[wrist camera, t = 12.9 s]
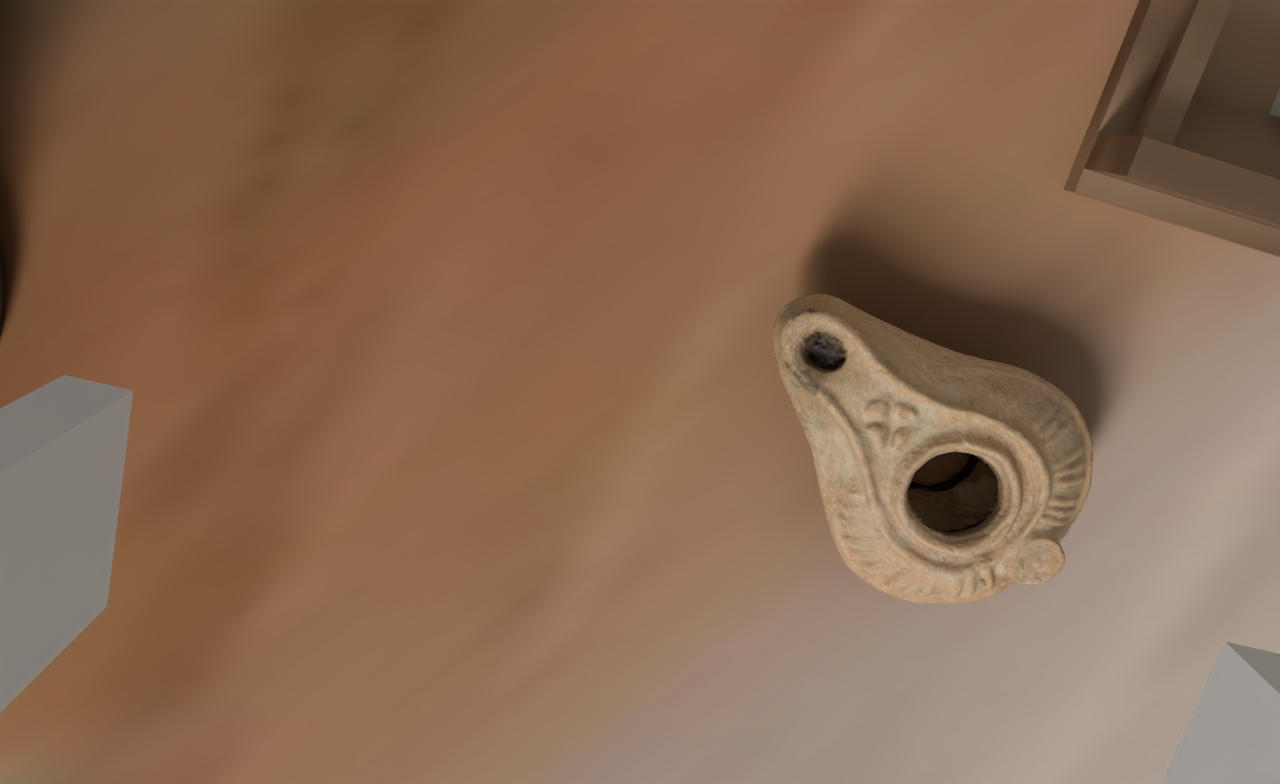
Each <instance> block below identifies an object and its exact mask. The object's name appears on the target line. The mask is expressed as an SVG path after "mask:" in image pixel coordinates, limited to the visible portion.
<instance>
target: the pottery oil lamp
mask: <svg viewBox="0 0 1280 784" xmlns="http://www.w3.org/2000/svg"><path fill="white" fill-rule="evenodd" d="M774 325H775V327H774V330H773V343H774V350H775V355H776V359H777V363H778V368H779V372H780V375H781V379H782V381H783V384H784V386H785V388H786V389H787V393H788V395H789V397H790V400H791V403H792V405H793V407H794V409H795V411H796V414H797V416H798V418H799V420H800V422H801V424H802V426H803V429H804V431H805V433H806V436H807V439H808V441H809V444H810V447H811V451H812V454H813V459H814V464H815V469H816V472H817V478H818V484H819V488H820V491H821V497H822V500H823V505H824V511H825V515H826V518H827V521H828V525H829V529H830V532H831V535H832V538H833V540H834V543H835V545H836V547H837V549H838V551H839V553H840V555H841V557H842V559H843V560H844V562H845V563H846V564H847V566H848V567H849V568H850V569H851V570H852V571H853V572H854V573H855V574H856V575H858V576H859V577H860V578H862V579H863V580H865V581H866V582H868V583H869V584H871V585H872V586H874V587H876V588H877V589H879V590H881V591H883V592H886V593H888V594H891V595H893V596H895V597H898V598H901V599H904V600H908V601H911V602H919V603H944V602H946V603H951V604H957V603H964V602H970V601H976V600H980V599H984V598H986V597H989V596H992V595H995V594H997V593H999V592H1000V591H1002V590H1004V589H1005V588H1007V587H1008V586H1010V585H1011V584H1013V583H1015V582H1019V583H1021V584H1030V585H1038V584H1042V583H1045V582H1047V581H1049V580H1050V579H1052V578H1053V577H1054V576H1055V575H1057V573H1058V572H1059V571H1060V570H1061V569H1062V567H1063V565H1064V561H1065V556H1064V552H1063V549H1062V547H1061V545H1060V542H1061V541H1062V539H1063V538H1064V537H1065V536H1066V534H1067V533H1068V531H1069V529H1070V527H1071V525H1072V524H1073V522H1074V521H1075V519H1076V518H1077V516H1078V514H1079V512H1080V511H1081V508H1082V506H1083V504H1084V502H1085V501H1086V498H1087V496H1088V493H1089V490H1090V486H1091V479H1092V476H1091V475H1092V465H1093V464H1092V461H1093V457H1092V456H1093V455H1092V454H1093V453H1092V440H1091V436H1090V434H1089V431H1088V428H1087V425H1086V422H1085V420H1084V418H1083V416H1082V415H1081V413H1080V412H1079V410H1078V408H1077V406H1076V405H1075V404H1074V402H1073V401H1072V400H1071V399H1070V398H1069V397H1068V396H1067V395H1066V394H1065V393H1063V392H1062V391H1061V390H1060V389H1058V388H1057V387H1056V386H1054V385H1053V384H1051V383H1050V382H1048V381H1046V380H1044V379H1043V378H1041V377H1039V376H1038V375H1036V374H1034V373H1032V372H1030V371H1028V370H1025V369H1022V368H1019V367H1016V366H1013V365H1010V364H1005V363H1000V362H997V361H989V360H986V359H981V358H978V357H975V356H970V355H965V354H962V353H958V352H956V351H953V350H951V349H948V348H945V347H942V346H940V345H937V344H935V343H933V342H930V341H928V340H925V339H922V338H920V337H918V336H915V335H913V334H911V333H909V332H906V331H903V330H902V329H900V328H898V327H896V326H893V325H891V324H889V323H887V322H884V321H883V320H880V319H878V318H876V317H874V316H872V315H870V314H868V313H866V312H864V311H862V310H860V309H859V308H856V307H855V306H853V305H851V304H849V303H847V302H845V301H843V300H841V299H839V298H836V297H833V296H830V295H828V294H814V295H806V296H802V297H800V298H797V299H795V300H793V301H791V302H789V303H788V304H787V305H785V306H784V307H783V308H782V310H781V311H780V313H779V314H778V316H777V319H776V321H775V324H774ZM970 454H972V455H974V456H975V457H978V458H980V459H979V461H978V463H977V464H976V467H975V468H974V470H973V471H972V472H971V474H970V475H969V476H968V477H967V478H966V479H964V480H963V481H962V482H959V483H958V484H957V485H956V486H955V487H953V488H952V489H949V490H946V491H940V492H931V491H930V490H929V489H920V488H917V489H915V490H913V489H911V488H909V484H910V483H911V480H912V481H914V482H916V483H919V484H921V485H933V484H937V483H940V482H942V481H945V480H947V481H950V478H952V476H954V475H956V474H958V472H959V471H960V470H961V469H962V467H963V466H964V465H965V464H966V463H967V461H968V459H969V457H970Z"/></svg>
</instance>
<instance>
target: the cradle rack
mask: <svg viewBox="0 0 1280 784" xmlns="http://www.w3.org/2000/svg"><path fill="white" fill-rule="evenodd" d="M1279 90H1280V0H1140V1H1139V3H1138V6H1137V8H1136V11H1135V13H1134V16H1133V18H1132V21H1131V23H1130V26H1129V28H1128V31H1127V33H1126V36H1125V38H1124V41H1123V43H1122V46H1121V48H1120V51H1119V53H1118V56H1117V58H1116V61H1115V63H1114V66H1113V68H1112V71H1111V73H1110V76H1109V78H1108V81H1107V83H1106V86H1105V88H1104V91H1103V93H1102V96H1101V98H1100V101H1099V103H1098V106H1097V108H1096V111H1095V113H1094V116H1093V118H1092V121H1091V123H1090V126H1089V128H1088V131H1087V133H1086V136H1085V138H1084V141H1083V143H1082V146H1081V148H1080V151H1079V153H1078V156H1077V158H1076V160H1075V163H1074V165H1073V168H1072V170H1071V173H1070V175H1069V178H1068V180H1067V183H1066V185H1065V188H1064V190H1067V191H1070V192H1074V193H1077V194H1080V195H1083V196H1086V197H1090V198H1093V199H1096V200H1099V201H1102V202H1106V203H1109V204H1112V205H1115V206H1118V207H1122V208H1125V209H1128V210H1131V211H1134V212H1138V213H1141V214H1144V215H1147V216H1150V217H1154V218H1157V219H1160V220H1163V221H1166V222H1170V223H1173V224H1176V225H1179V226H1182V227H1186V228H1189V229H1192V230H1195V231H1198V232H1202V233H1205V234H1208V235H1211V236H1214V237H1218V238H1221V239H1224V240H1227V241H1230V242H1234V243H1237V244H1240V245H1243V246H1246V247H1250V248H1253V249H1256V250H1259V251H1262V252H1266V253H1269V254H1272V255H1275V256H1278V257H1280V119H1279V118H1276V117H1273V116H1270V115H1269V112H1270V110H1271V108H1272V106H1273V103H1274V101H1275V99H1276V97H1277V94H1278V92H1279Z"/></svg>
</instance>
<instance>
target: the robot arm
mask: <svg viewBox="0 0 1280 784" xmlns="http://www.w3.org/2000/svg"><path fill="white" fill-rule="evenodd" d="M3 300H4V276H3V263H2V256H1V249H0V323H1V317H2V310H3ZM132 397H133V391H132V390H128V389H124V388H119V387H115V386H110V385H106V384H102V383H97V382H93V381H89V380H84V379H80V378H76V377H71V376H67V375H63V376H62V377H60V378H58V379H56V380H54V381H52V382H50V383H48V384H46V385H44V386H42V387H40V388H38V389H37V390H35V391H33V392H31V393H29V394H27V395H25V396H23V397H21V398H19V399H17V400H15V401H13V402H11V403H10V404H8V405H6V406H4V407H2V408H0V713H1V712H2V711H3V710H4V709H5V708H6V707H7V706H8V705H9V704H10V703H11V702H12V701H13V700H14V699H15V698H16V697H17V696H18V695H19V694H20V693H21V692H22V691H23V690H24V689H25V688H26V687H27V686H28V685H29V684H30V683H31V682H32V681H33V680H34V679H35V678H36V677H37V676H38V675H39V674H40V673H41V672H42V671H43V670H44V669H45V668H46V667H47V666H48V665H49V664H50V663H51V662H52V661H53V660H54V659H55V658H56V657H57V656H58V655H59V654H60V653H61V652H62V651H63V650H64V649H65V648H66V647H67V646H68V645H69V644H70V643H71V642H72V641H73V640H74V639H75V638H76V637H77V636H78V635H79V634H80V633H81V632H82V631H83V630H84V629H85V628H86V627H87V626H88V625H89V624H90V623H91V622H92V621H93V620H94V619H95V618H96V617H97V616H98V615H99V614H100V613H101V612H102V611H103V610H104V609H105V608H106V607H107V602H108V594H109V585H110V577H111V569H112V561H113V553H114V544H115V536H116V528H117V520H118V512H119V503H120V495H121V487H122V479H123V471H124V462H125V454H126V446H127V438H128V430H129V421H130V413H131V405H132ZM1162 784H1280V654H1277V653H1272V652H1268V651H1264V650H1259V649H1255V648H1251V647H1246V646H1242V645H1238V644H1233V643H1229V642H1225V643H1224V645H1223V647H1222V650H1221V652H1220V654H1219V656H1218V659H1217V661H1216V663H1215V665H1214V668H1213V670H1212V672H1211V674H1210V677H1209V679H1208V681H1207V683H1206V686H1205V688H1204V690H1203V692H1202V695H1201V697H1200V699H1199V701H1198V704H1197V706H1196V708H1195V710H1194V713H1193V715H1192V717H1191V720H1190V722H1189V724H1188V726H1187V729H1186V731H1185V733H1184V735H1183V738H1182V740H1181V742H1180V744H1179V747H1178V749H1177V751H1176V753H1175V756H1174V758H1173V760H1172V762H1171V765H1170V767H1169V769H1168V771H1167V774H1166V776H1165V778H1164V780H1163V783H1162Z"/></svg>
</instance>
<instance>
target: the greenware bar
mask: <svg viewBox="0 0 1280 784" xmlns="http://www.w3.org/2000/svg"><path fill="white" fill-rule="evenodd" d="M1269 115H1270V116H1273V117H1276V118H1279V119H1280V90H1279V92H1278V94H1277V97H1276V99H1275V101H1274V103H1273V106H1272V108H1271V110H1270V112H1269Z"/></svg>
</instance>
